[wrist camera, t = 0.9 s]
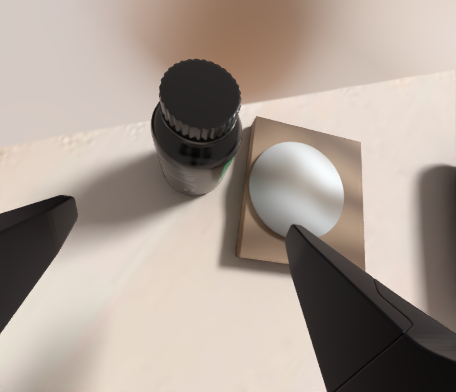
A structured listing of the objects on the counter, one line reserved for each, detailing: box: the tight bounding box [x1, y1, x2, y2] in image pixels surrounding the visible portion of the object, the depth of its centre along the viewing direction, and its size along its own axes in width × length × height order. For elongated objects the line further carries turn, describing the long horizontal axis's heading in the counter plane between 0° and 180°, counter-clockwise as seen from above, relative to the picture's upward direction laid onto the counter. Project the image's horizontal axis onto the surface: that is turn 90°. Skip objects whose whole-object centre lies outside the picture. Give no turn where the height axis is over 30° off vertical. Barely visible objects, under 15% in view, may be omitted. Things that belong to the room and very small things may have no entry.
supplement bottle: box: [151, 59, 242, 195], centre depth 18 cm, size 7×7×12 cm
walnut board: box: [236, 116, 365, 271], centre depth 24 cm, size 16×14×3 cm
